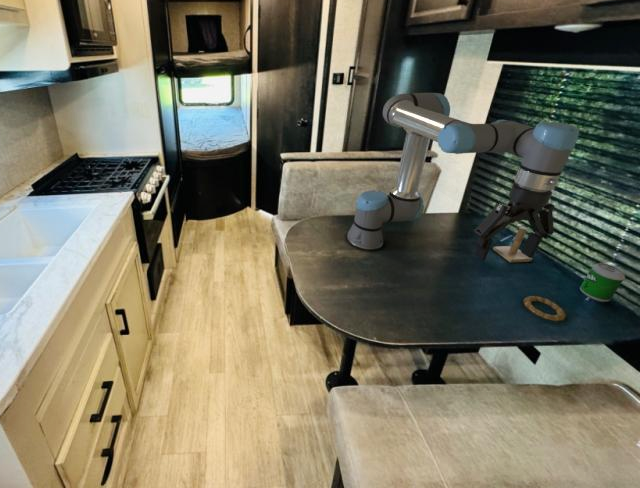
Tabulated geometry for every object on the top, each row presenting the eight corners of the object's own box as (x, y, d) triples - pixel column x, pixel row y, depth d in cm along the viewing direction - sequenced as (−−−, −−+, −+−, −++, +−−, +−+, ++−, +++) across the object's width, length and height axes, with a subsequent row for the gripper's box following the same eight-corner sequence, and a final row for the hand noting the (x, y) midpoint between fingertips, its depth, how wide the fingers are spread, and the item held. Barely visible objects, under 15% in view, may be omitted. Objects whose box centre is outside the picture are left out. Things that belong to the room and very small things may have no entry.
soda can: (612, 298, 109) (630, 271, 104) (604, 306, 106) (622, 279, 101) (582, 285, 115) (598, 259, 110) (574, 292, 112) (590, 266, 106)
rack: (492, 249, 135) (503, 222, 130) (512, 248, 136) (523, 221, 130) (510, 262, 127) (522, 234, 121) (531, 261, 128) (544, 233, 122)
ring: (514, 299, 109) (516, 295, 108) (542, 298, 109) (544, 293, 109) (542, 324, 99) (545, 319, 99) (573, 322, 100) (576, 317, 99)
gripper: (497, 194, 73) (470, 267, 82) (596, 191, 75) (559, 262, 84) (473, 182, 80) (450, 249, 89) (564, 178, 81) (533, 246, 90)
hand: (503, 256), depth 86 cm, fingers open, 13 cm apart
